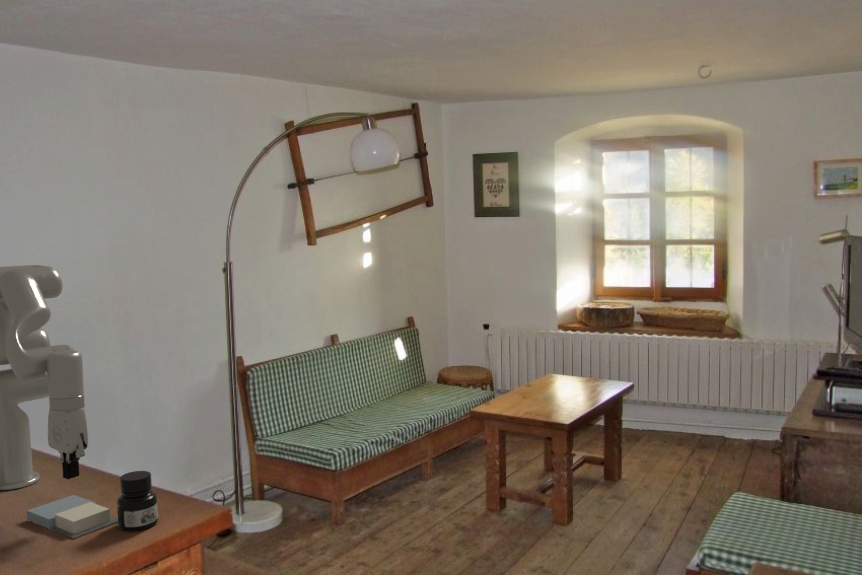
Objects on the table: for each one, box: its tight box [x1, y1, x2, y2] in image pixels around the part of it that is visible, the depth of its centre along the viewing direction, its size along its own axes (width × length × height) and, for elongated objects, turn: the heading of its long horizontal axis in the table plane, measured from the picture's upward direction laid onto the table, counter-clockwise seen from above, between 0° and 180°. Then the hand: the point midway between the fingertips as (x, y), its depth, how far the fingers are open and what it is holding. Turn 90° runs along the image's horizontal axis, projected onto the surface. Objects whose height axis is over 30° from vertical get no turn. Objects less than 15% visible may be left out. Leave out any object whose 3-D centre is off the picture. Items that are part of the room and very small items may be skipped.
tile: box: [55, 502, 111, 534], centre depth 183 cm, size 8×9×3 cm
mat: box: [50, 515, 118, 540], centre depth 183 cm, size 10×12×1 cm
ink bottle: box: [116, 470, 159, 532], centre depth 182 cm, size 10×9×12 cm
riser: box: [26, 494, 97, 530], centre depth 188 cm, size 10×12×2 cm
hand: (71, 476), depth 185 cm, fingers closed
